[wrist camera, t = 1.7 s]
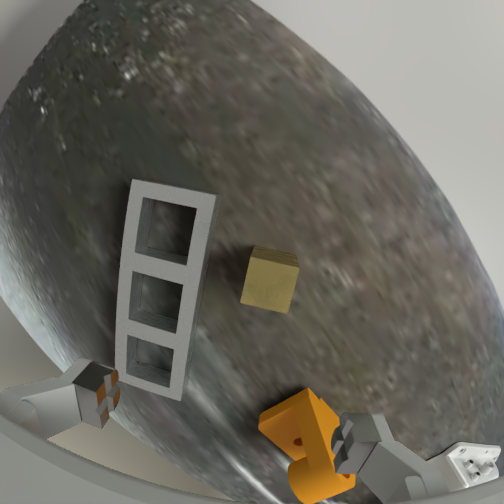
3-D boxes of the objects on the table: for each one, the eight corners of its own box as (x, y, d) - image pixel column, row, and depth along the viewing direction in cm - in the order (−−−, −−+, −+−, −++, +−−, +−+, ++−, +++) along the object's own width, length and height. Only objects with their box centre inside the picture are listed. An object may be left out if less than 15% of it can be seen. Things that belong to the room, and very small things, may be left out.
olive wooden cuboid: (296, 254, 30) (299, 268, 25) (285, 293, 30) (287, 313, 26) (254, 245, 30) (250, 256, 25) (245, 284, 31) (240, 302, 26)
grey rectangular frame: (222, 194, 29) (216, 195, 26) (187, 386, 34) (180, 401, 31) (145, 179, 29) (132, 179, 26) (125, 366, 34) (115, 378, 31)
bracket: (256, 411, 34) (246, 488, 22) (307, 383, 32) (316, 461, 21) (305, 455, 35) (309, 525, 23) (352, 431, 33) (369, 502, 22)
